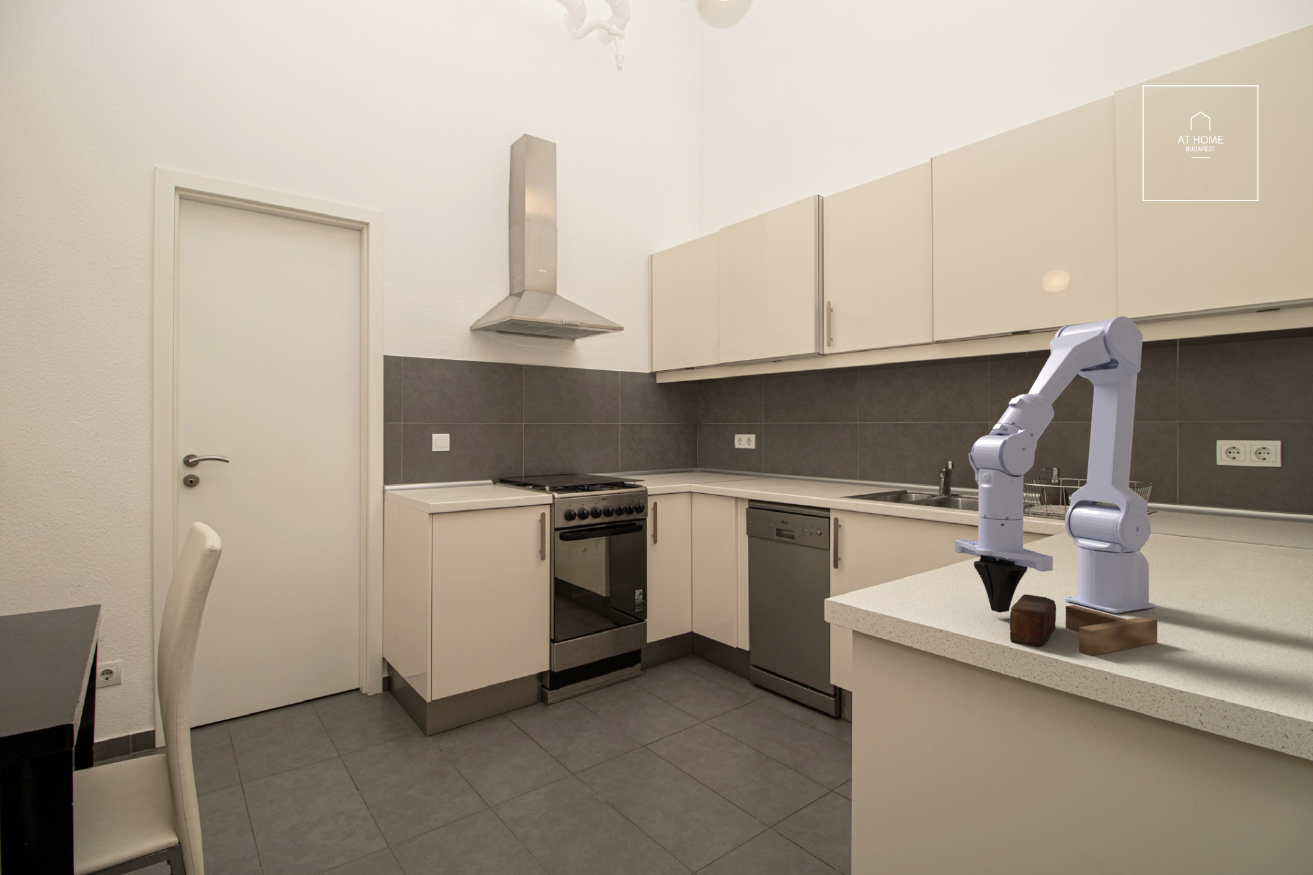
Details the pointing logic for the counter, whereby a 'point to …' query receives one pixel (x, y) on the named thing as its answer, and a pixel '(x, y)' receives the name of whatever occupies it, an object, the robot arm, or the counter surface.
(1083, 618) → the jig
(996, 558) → the robot arm
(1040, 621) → the brick
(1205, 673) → the counter surface
